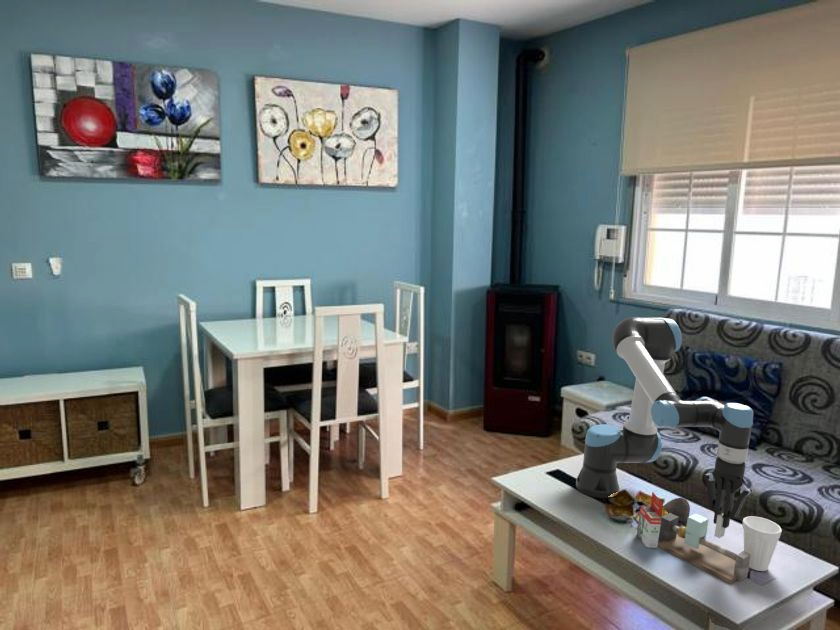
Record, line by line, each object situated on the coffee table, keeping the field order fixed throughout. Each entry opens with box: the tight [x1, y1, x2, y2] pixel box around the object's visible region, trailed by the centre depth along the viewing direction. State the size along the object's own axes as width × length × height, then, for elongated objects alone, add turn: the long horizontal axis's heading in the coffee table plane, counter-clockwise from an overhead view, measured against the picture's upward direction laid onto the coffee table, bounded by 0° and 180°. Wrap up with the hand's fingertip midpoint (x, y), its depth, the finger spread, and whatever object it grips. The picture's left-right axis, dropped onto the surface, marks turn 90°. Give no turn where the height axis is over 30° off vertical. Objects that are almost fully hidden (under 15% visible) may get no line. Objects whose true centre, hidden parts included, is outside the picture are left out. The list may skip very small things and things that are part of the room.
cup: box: [742, 515, 783, 572], centre depth 177 cm, size 10×10×13 cm
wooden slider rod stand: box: [657, 513, 751, 584], centre depth 180 cm, size 25×11×8 cm, turn 37°
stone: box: [663, 497, 691, 526], centre depth 204 cm, size 10×8×10 cm
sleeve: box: [684, 512, 710, 549], centre depth 181 cm, size 4×4×8 cm
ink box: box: [636, 491, 664, 549], centre depth 187 cm, size 4×8×15 cm, turn 2°
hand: (719, 535), depth 176 cm, fingers closed
